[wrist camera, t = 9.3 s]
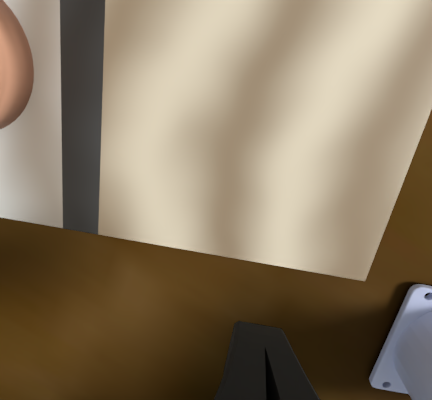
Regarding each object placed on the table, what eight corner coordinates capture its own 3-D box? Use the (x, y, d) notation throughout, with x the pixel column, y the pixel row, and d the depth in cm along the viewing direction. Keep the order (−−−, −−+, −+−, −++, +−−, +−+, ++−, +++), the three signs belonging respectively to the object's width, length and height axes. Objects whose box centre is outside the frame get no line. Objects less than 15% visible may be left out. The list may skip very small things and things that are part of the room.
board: (483, -63, 13) (501, -73, 12) (358, 271, 19) (364, 281, 18) (-263, -186, 13) (-301, -206, 12) (-162, 180, 19) (-182, 185, 18)
